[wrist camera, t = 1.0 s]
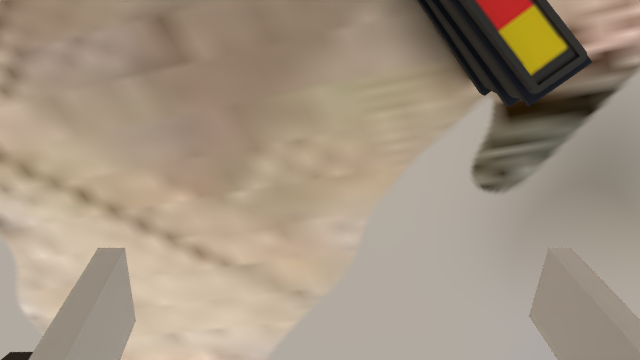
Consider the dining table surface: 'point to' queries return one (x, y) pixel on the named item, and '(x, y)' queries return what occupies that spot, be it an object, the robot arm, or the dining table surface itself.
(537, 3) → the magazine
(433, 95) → the dining table surface
